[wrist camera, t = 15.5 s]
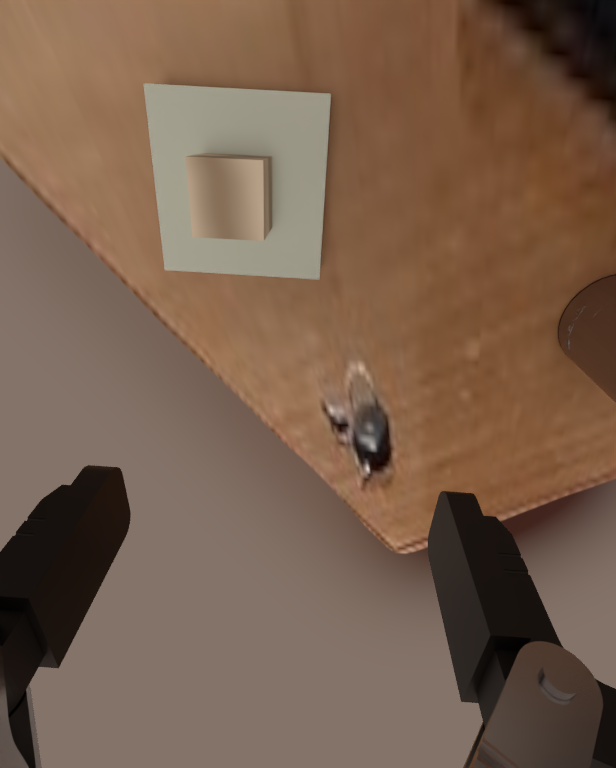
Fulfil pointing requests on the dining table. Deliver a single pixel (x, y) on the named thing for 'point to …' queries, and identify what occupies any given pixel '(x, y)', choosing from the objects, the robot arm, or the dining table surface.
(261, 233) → the maple cube
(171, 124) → the plate
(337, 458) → the dining table surface
